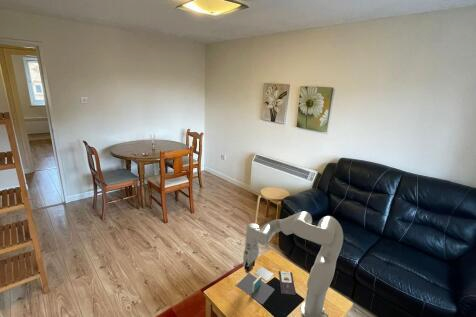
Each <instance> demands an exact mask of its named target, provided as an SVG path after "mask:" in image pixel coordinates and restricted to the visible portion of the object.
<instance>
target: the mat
mask: <svg viewBox="0 0 476 317" xmlns="http://www.w3.org/2000/svg"><path fill="white" fill-rule="evenodd" d="M257 278H258V277H256V276H255V275H254V274H252V273H251V272H249V273H247V274H246V275H245V276H244V277H243V278H242V279H241V280H240V281H239V282H238V283H237V284H236V285H235V286H236V287H237V288H238V289H239V290H241V291H243V292H244V293H245V294H247V295H248V296H249V297H251V298H253V299H254V300H255V301H257V302H258V303H260V304H261V305H264V303H266V301H267V300H268V299H269V297H270V296H271V295H272V294H273V293H274V292H275V288H273V287H272V286H270V285H269V284H268V283H265V282H264V281H263V280H261V285H260V287H259V288H258V289H257V290H256V291H255V292H254V293H253V292H252V288H253V282H254V281H255V280H256V279H257Z"/></svg>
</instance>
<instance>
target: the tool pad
mask: <svg viewBox="0 0 476 317" xmlns="http://www.w3.org/2000/svg"><path fill="white" fill-rule="evenodd" d="M254 275H256V276H258V277H259V276H260V275H261V276H262V279H263V280H264V281H266V282H268V281H269V280H270V279H271V278H272V277H273V276H274V273H273V272H272V271H269V270H267V269H266V268H264V267H262V266H260V267H259V268H258V269H257V270H256V271H255V272H254ZM262 279H261V280H262Z"/></svg>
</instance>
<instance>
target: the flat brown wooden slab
mask: <svg viewBox="0 0 476 317" xmlns="http://www.w3.org/2000/svg"><path fill="white" fill-rule="evenodd" d="M246 263H247V262H246ZM247 264H248V263H247ZM252 270H254V266H253V262H252V263H250V264H249V271H246V270H245V271H244V272H245V273H247V274H248V273H251V271H252Z"/></svg>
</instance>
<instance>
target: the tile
mask: <svg viewBox="0 0 476 317" xmlns="http://www.w3.org/2000/svg"><path fill="white" fill-rule="evenodd" d="M256 278H257V279H256V280H255V281H254V282H253V288H252V292H253V293H254V292H255V291H256V290H257V289H258V288H259V287H260V285H261V281H262V276H261V275H260V276H258V277H256Z"/></svg>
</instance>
